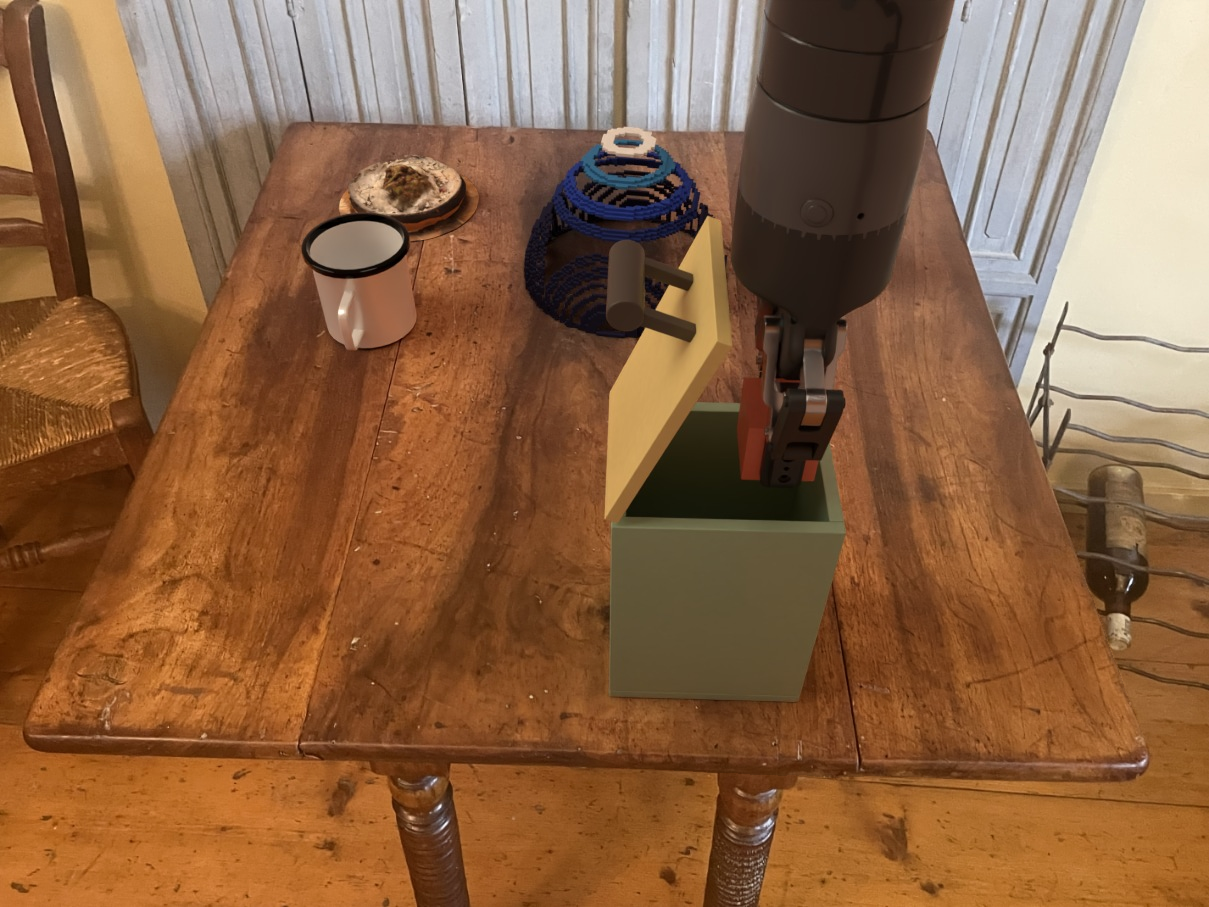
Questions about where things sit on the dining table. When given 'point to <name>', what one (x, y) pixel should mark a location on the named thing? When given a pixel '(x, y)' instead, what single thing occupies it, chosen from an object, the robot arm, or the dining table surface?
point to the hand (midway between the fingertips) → (775, 451)
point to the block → (757, 431)
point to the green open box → (720, 572)
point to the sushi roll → (413, 195)
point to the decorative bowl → (609, 212)
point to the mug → (362, 278)
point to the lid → (661, 354)
